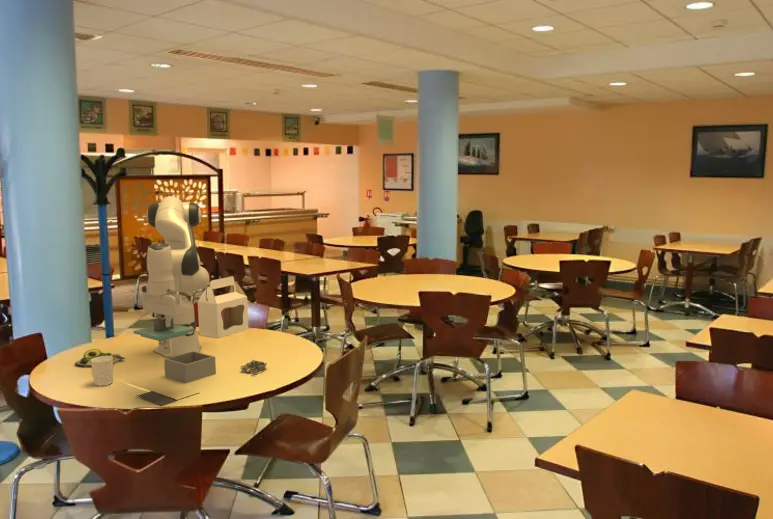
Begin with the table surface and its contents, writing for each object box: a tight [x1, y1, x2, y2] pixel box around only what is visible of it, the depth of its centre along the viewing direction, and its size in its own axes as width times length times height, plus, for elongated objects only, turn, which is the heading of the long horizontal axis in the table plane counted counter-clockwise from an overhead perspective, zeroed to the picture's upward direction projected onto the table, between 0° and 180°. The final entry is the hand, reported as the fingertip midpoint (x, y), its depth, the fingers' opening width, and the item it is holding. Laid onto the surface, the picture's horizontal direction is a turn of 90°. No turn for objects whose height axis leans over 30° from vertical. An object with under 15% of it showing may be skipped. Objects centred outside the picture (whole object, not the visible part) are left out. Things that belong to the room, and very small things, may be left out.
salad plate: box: [74, 348, 126, 367], centre depth 281 cm, size 19×18×5 cm
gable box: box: [197, 275, 249, 339], centre depth 329 cm, size 22×13×28 cm, turn 149°
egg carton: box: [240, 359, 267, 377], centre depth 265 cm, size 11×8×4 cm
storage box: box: [163, 351, 217, 384], centre depth 259 cm, size 14×14×8 cm
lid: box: [133, 316, 194, 342], centre depth 235 cm, size 15×15×6 cm
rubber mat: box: [136, 390, 200, 407], centre depth 238 cm, size 16×16×1 cm
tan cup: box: [91, 356, 114, 386], centre depth 251 cm, size 8×8×10 cm
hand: (163, 325), depth 235 cm, fingers closed on lid, 3 cm apart
